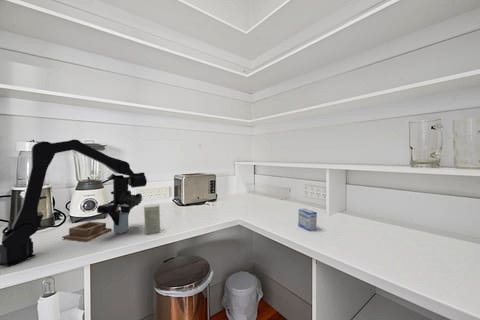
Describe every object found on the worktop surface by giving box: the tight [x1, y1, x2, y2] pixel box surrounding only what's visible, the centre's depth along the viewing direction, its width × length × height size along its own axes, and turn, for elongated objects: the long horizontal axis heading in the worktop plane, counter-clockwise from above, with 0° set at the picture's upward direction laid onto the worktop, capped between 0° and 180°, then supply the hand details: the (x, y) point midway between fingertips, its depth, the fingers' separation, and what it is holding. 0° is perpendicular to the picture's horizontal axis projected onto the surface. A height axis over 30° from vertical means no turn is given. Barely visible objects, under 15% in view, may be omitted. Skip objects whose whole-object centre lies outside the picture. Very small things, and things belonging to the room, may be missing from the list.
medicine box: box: [297, 207, 318, 232], centre depth 95 cm, size 8×4×9 cm, turn 27°
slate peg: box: [113, 212, 129, 234], centre depth 87 cm, size 4×4×8 cm
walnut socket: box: [62, 221, 113, 243], centre depth 85 cm, size 12×12×4 cm
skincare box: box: [143, 203, 161, 235], centre depth 89 cm, size 6×4×12 cm
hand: (121, 223), depth 88 cm, fingers closed on slate peg, 4 cm apart
